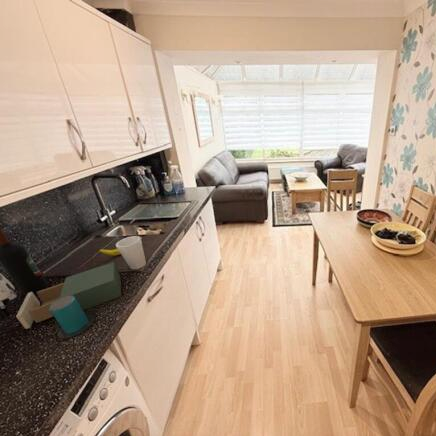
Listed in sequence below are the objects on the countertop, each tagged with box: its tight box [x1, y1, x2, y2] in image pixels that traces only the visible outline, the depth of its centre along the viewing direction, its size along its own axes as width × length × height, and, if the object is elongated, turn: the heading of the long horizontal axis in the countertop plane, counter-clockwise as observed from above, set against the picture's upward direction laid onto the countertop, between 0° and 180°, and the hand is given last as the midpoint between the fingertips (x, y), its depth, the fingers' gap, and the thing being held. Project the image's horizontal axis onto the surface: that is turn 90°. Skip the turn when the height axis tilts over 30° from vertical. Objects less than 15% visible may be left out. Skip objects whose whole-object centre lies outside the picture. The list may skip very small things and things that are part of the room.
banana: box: [97, 236, 143, 256], centre depth 121 cm, size 3×19×6 cm, turn 131°
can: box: [49, 296, 88, 333], centre depth 78 cm, size 6×6×10 cm
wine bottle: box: [0, 226, 50, 297], centre depth 93 cm, size 8×8×30 cm
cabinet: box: [59, 261, 122, 312], centre depth 93 cm, size 16×15×8 cm
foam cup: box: [115, 235, 147, 270], centre depth 108 cm, size 10×9×13 cm
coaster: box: [56, 312, 96, 340], centre depth 80 cm, size 10×10×1 cm
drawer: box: [15, 282, 64, 330], centre depth 87 cm, size 16×14×6 cm
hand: (6, 316), depth 81 cm, fingers closed
